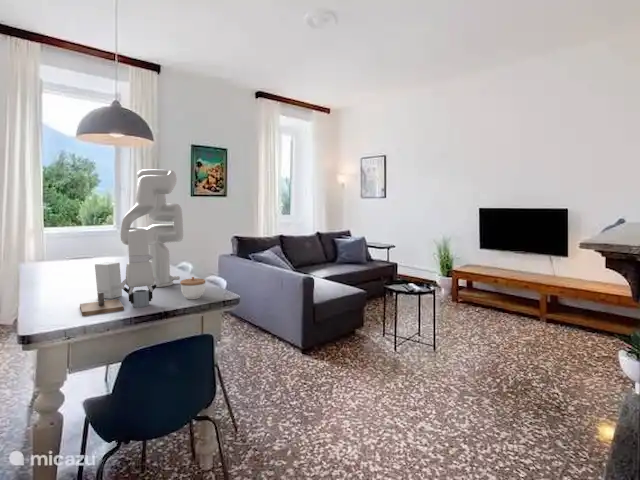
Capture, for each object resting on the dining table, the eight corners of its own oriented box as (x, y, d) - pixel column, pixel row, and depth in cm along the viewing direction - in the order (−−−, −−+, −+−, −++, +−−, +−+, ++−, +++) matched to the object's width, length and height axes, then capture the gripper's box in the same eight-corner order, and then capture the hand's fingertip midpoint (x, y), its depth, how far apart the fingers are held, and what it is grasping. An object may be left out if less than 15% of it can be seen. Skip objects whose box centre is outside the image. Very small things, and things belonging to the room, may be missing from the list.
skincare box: (122, 296, 172) (121, 262, 171) (110, 299, 166) (108, 264, 164) (108, 294, 175) (107, 261, 173) (96, 297, 169) (94, 263, 167)
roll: (147, 302, 161) (146, 288, 160) (150, 305, 156) (149, 291, 156) (131, 304, 158) (131, 290, 157) (134, 307, 153) (133, 293, 152)
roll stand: (118, 302, 161) (117, 287, 160) (123, 310, 150) (123, 294, 149) (79, 307, 153) (79, 291, 152) (82, 316, 141) (81, 299, 141)
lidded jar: (175, 299, 167) (174, 278, 166) (191, 293, 177) (191, 274, 176) (195, 301, 164) (194, 280, 163) (210, 295, 174) (210, 275, 173)
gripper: (159, 256, 163) (160, 297, 165) (114, 259, 153) (116, 303, 155) (163, 258, 157) (164, 300, 159) (116, 262, 147) (118, 307, 149)
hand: (140, 301), depth 157 cm, fingers open, 6 cm apart
